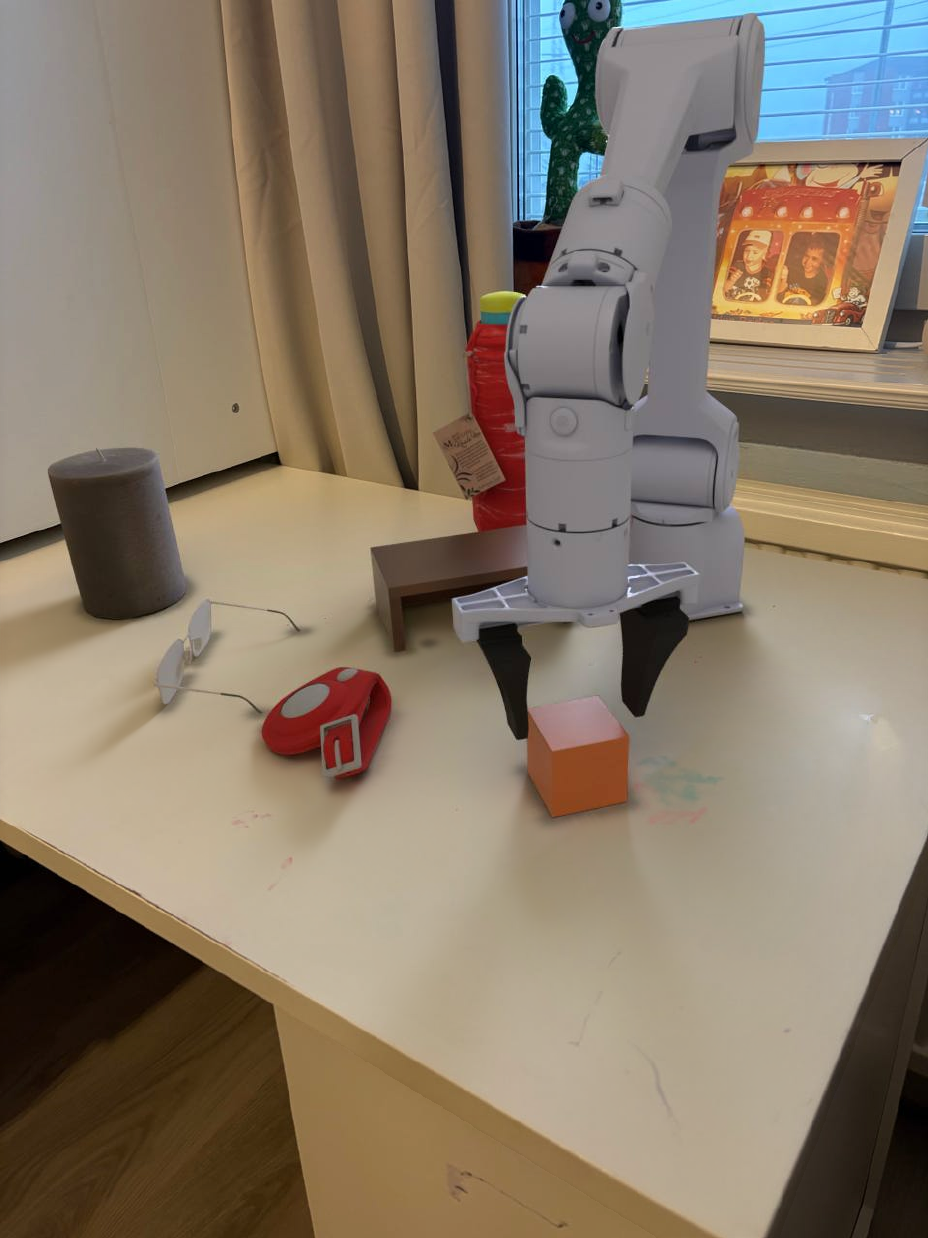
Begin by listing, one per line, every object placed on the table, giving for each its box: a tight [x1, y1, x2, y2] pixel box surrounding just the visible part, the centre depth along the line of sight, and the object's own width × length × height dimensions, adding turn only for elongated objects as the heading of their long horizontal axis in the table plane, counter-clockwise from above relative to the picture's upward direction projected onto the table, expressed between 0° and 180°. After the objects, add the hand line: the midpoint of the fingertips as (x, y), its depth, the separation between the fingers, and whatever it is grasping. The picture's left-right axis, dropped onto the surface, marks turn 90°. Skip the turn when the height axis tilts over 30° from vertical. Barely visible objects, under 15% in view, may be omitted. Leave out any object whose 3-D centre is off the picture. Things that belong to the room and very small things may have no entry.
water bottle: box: [432, 290, 527, 532], centre depth 90 cm, size 12×8×25 cm, turn 124°
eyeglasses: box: [153, 598, 301, 715], centre depth 74 cm, size 14×8×4 cm, turn 177°
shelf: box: [369, 525, 570, 653], centre depth 80 cm, size 16×9×6 cm, turn 105°
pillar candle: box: [47, 446, 187, 620], centre depth 85 cm, size 10×10×15 cm
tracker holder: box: [260, 666, 393, 779], centre depth 64 cm, size 12×4×10 cm
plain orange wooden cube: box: [526, 694, 631, 818], centre depth 58 cm, size 5×5×5 cm
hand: (576, 719), depth 56 cm, fingers open, 7 cm apart
